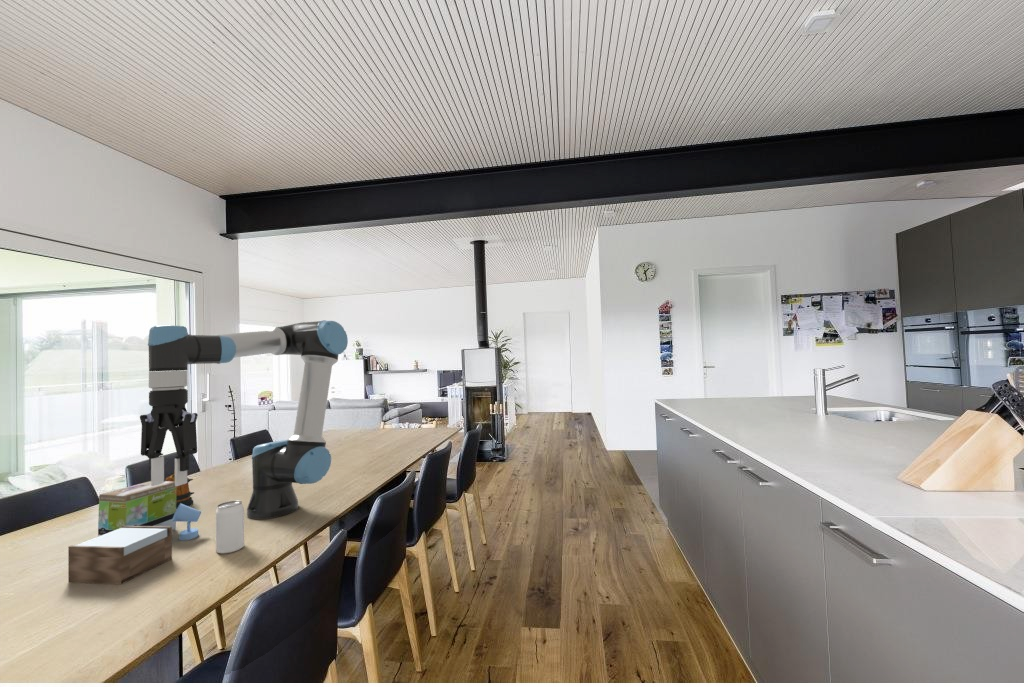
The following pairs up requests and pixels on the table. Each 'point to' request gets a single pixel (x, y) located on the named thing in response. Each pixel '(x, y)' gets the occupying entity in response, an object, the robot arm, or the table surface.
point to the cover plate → (128, 538)
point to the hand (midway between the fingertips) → (169, 484)
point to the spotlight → (187, 520)
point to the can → (229, 527)
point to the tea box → (137, 507)
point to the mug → (182, 492)
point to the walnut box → (116, 560)
